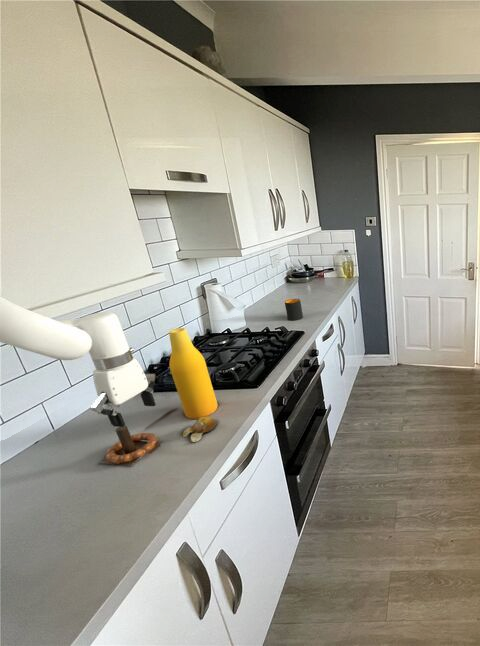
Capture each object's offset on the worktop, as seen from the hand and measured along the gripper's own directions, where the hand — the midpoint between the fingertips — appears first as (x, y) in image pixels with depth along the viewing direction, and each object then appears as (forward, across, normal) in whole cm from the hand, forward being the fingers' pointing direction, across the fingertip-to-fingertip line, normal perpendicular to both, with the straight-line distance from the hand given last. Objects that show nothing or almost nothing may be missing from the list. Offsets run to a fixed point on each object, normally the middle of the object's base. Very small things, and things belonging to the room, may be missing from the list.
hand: (135, 415), depth 96 cm
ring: (+8, +4, 0) cm, 9 cm away
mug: (+10, -106, -11) cm, 108 cm away
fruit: (+10, -6, +11) cm, 16 cm away
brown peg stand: (+10, +4, 0) cm, 11 cm away
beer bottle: (+10, -16, +4) cm, 20 cm away
